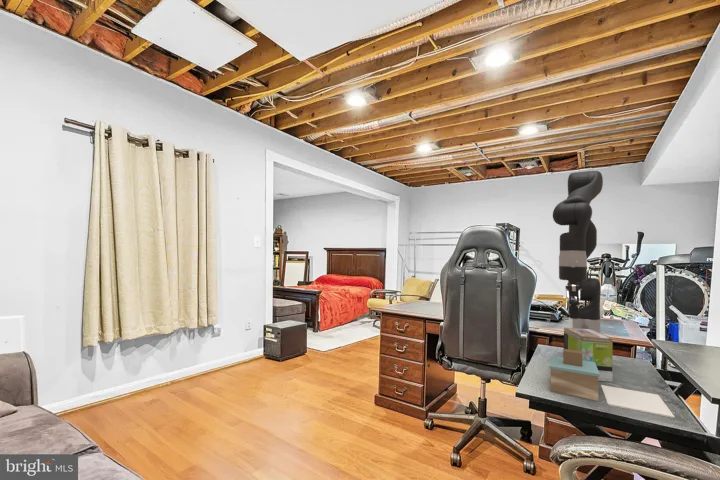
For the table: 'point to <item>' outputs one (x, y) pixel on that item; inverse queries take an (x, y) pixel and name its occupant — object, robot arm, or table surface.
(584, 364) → the lid
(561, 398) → the table surface
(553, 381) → the crate
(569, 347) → the tea box
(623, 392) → the mat
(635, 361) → the table surface
